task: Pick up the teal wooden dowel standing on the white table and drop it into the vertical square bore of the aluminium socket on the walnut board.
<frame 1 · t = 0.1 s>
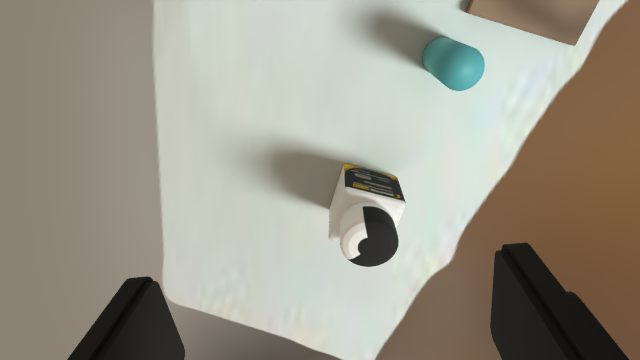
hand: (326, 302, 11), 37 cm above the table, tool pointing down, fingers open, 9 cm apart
medicine bottle: (362, 192, 51), on the table
peg: (440, 56, 43), on the table
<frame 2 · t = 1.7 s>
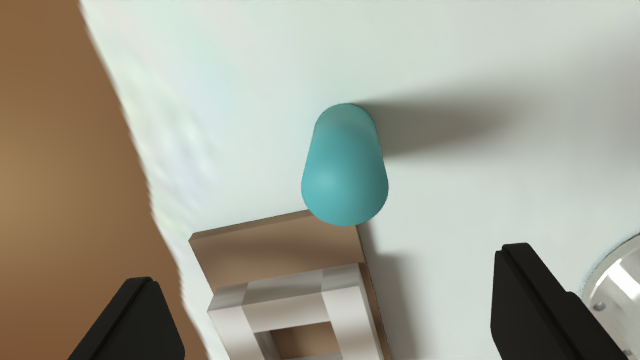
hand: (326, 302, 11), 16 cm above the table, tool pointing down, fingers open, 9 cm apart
socket board: (306, 320, 32), on the table
peg: (344, 134, 25), on the table
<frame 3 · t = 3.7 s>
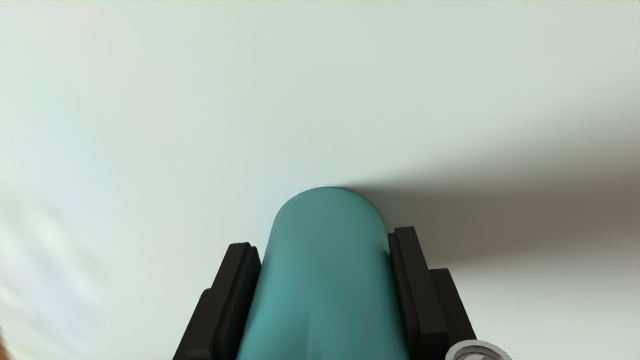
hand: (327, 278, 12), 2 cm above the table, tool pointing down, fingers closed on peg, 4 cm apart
peg: (328, 238, 14), on the table, touching gripper
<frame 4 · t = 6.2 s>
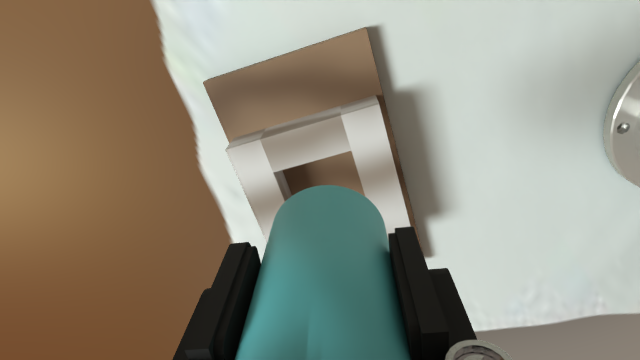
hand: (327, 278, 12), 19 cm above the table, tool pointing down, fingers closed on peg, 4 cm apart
socket board: (325, 176, 32), on the table
peg: (328, 236, 14), point 17 cm above the table, touching gripper
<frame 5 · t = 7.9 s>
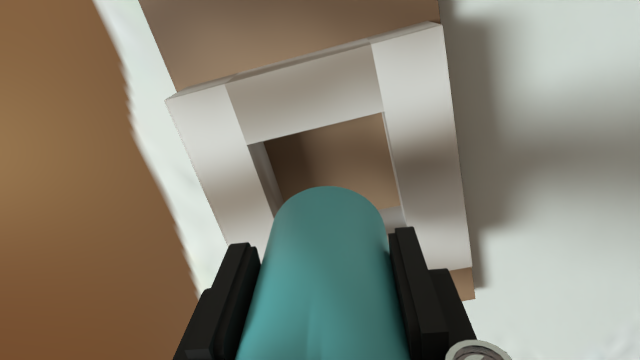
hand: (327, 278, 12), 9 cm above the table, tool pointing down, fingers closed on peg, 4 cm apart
socket board: (332, 159, 20), on the table
peg: (328, 237, 14), point 7 cm above the table, touching gripper
when the fingers open (5 cm above the table, at t = 9.2 s): peg drops 1 cm, resting on socket board.
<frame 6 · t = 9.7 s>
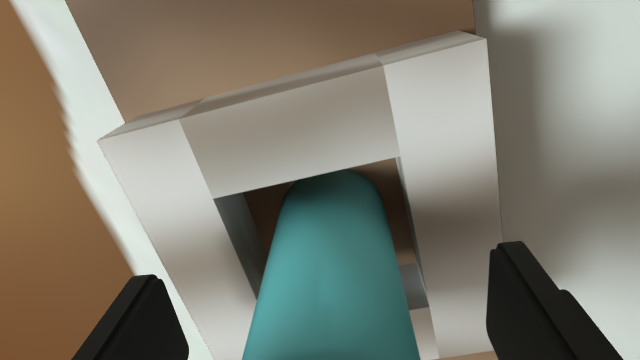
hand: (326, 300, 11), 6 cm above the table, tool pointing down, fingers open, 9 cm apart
socket board: (329, 204, 16), on the table
peg: (332, 215, 15), point 1 cm above the table, touching socket board
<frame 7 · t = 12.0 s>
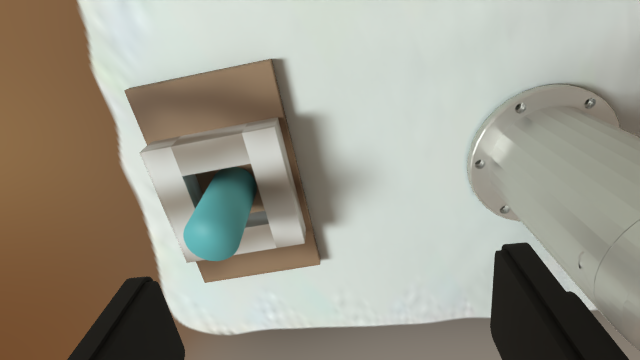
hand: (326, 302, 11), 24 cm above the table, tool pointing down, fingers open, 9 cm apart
socket board: (235, 182, 36), on the table
peg: (234, 186, 35), point 1 cm above the table, touching socket board
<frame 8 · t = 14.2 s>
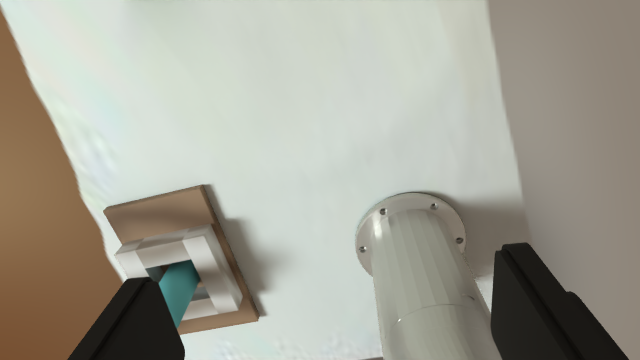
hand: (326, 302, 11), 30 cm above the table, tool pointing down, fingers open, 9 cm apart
socket board: (188, 264, 48), on the table
peg: (186, 269, 48), point 1 cm above the table, touching socket board
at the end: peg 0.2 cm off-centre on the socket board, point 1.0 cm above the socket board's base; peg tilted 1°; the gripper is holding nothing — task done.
